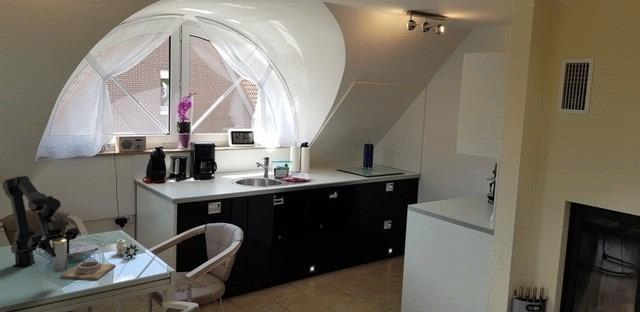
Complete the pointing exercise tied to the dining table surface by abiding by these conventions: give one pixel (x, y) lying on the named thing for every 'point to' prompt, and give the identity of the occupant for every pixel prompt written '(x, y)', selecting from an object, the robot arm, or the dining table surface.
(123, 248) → the valve
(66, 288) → the dining table surface
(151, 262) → the dining table surface
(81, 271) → the flange board
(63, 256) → the gray can
